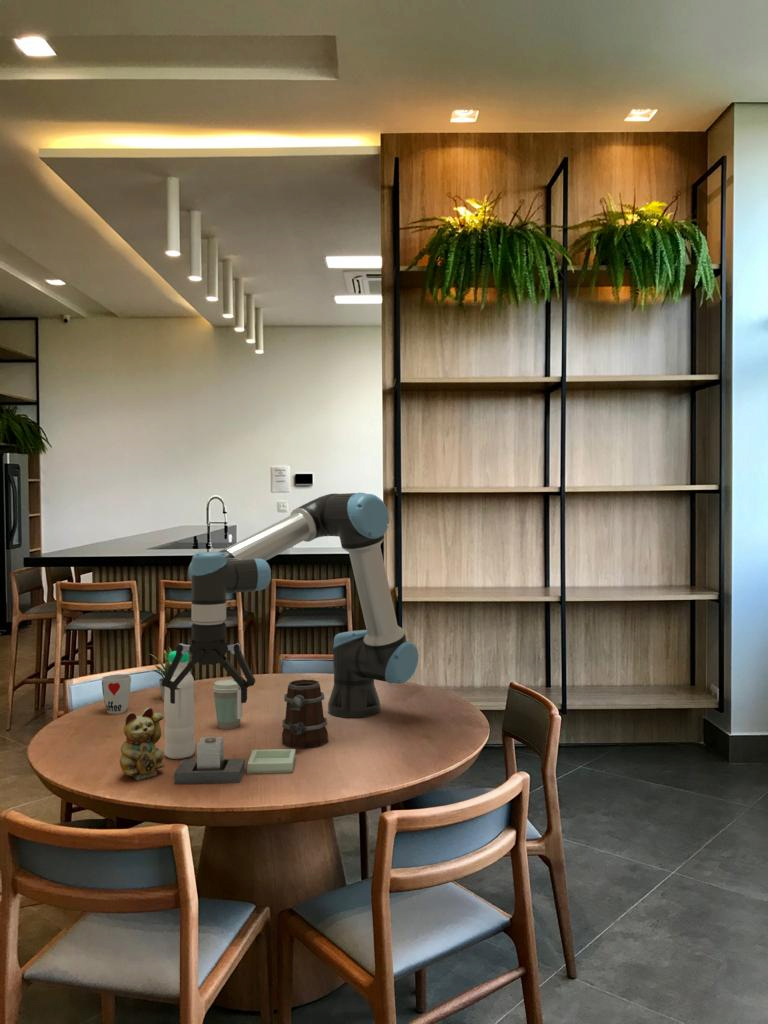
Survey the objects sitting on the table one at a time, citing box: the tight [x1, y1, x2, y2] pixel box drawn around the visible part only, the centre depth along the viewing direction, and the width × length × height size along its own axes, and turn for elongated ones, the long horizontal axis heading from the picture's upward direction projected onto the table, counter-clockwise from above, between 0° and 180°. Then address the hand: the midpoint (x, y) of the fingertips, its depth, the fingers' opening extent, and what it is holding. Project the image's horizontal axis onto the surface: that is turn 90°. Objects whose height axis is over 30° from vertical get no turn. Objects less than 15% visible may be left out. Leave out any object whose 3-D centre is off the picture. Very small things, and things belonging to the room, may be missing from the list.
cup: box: [101, 673, 132, 715], centre depth 231 cm, size 8×8×10 cm
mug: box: [281, 678, 329, 749], centre depth 199 cm, size 16×12×15 cm
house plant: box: [149, 646, 191, 702], centre depth 245 cm, size 14×14×16 cm
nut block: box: [196, 736, 225, 771], centre depth 177 cm, size 5×5×8 cm
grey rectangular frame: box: [173, 757, 246, 785], centre depth 177 cm, size 14×9×2 cm, turn 92°
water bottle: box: [163, 650, 196, 760], centre depth 191 cm, size 7×7×25 cm
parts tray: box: [246, 748, 296, 775], centre depth 183 cm, size 10×10×2 cm
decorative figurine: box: [119, 707, 165, 781], centre depth 178 cm, size 10×8×15 cm
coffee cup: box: [212, 678, 241, 730], centre depth 216 cm, size 8×9×12 cm
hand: (208, 717), depth 176 cm, fingers open, 13 cm apart
